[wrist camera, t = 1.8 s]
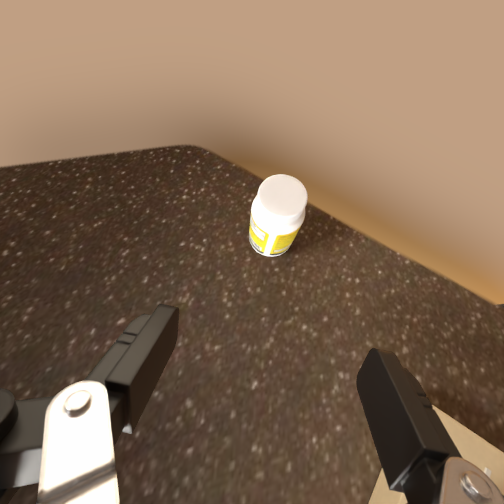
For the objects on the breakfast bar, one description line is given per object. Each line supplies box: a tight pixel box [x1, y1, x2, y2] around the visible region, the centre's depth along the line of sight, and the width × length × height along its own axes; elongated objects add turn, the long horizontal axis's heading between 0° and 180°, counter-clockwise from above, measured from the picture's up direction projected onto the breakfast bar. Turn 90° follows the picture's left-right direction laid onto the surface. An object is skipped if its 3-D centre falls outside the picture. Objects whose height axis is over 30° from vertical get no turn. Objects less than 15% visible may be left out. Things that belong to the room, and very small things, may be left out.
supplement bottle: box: [249, 174, 308, 256], centre depth 23 cm, size 5×5×8 cm
